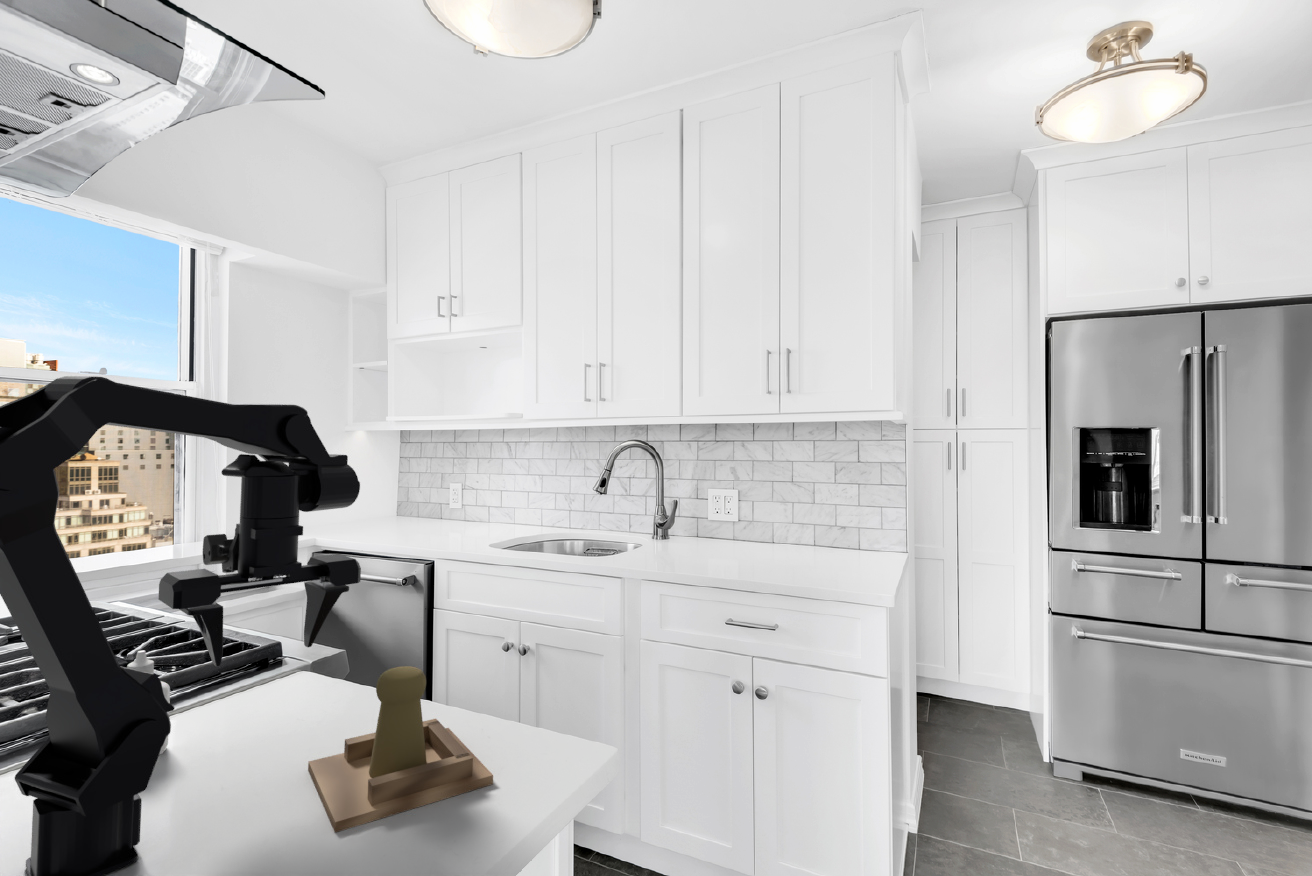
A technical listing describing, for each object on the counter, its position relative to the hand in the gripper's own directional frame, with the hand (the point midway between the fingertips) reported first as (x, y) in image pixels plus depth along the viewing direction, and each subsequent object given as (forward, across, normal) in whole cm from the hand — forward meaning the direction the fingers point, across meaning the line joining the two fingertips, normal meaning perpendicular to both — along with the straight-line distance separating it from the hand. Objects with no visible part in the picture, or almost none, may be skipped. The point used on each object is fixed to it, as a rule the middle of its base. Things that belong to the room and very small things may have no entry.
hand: (264, 655), depth 73 cm
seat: (+13, -10, +12) cm, 20 cm away
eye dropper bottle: (+13, +8, -14) cm, 21 cm away
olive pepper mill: (+12, -10, +12) cm, 20 cm away
